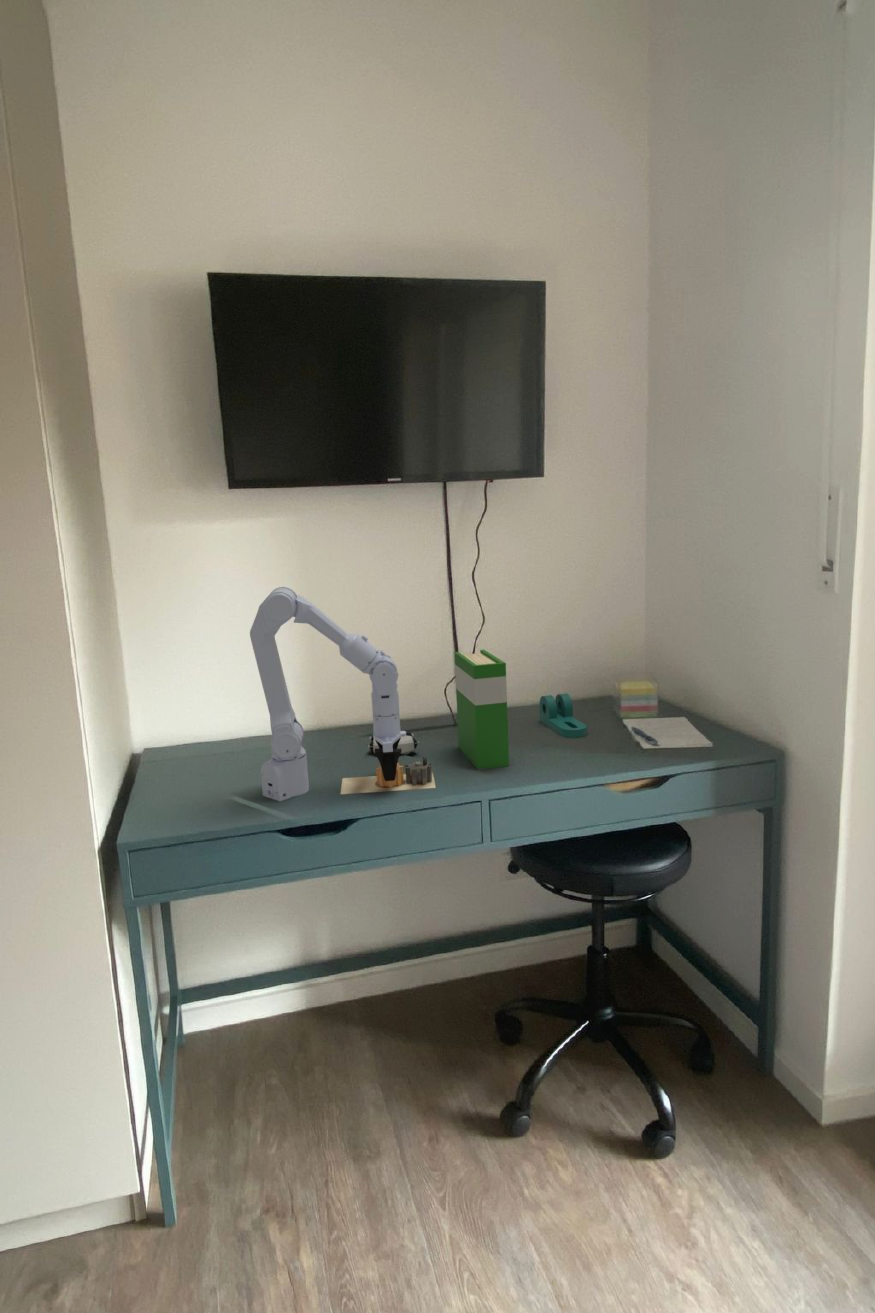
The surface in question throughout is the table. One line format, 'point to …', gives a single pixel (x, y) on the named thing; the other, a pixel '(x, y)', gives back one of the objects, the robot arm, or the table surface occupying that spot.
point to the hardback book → (482, 709)
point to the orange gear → (397, 781)
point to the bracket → (561, 716)
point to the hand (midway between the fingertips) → (389, 774)
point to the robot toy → (405, 744)
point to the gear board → (413, 779)
